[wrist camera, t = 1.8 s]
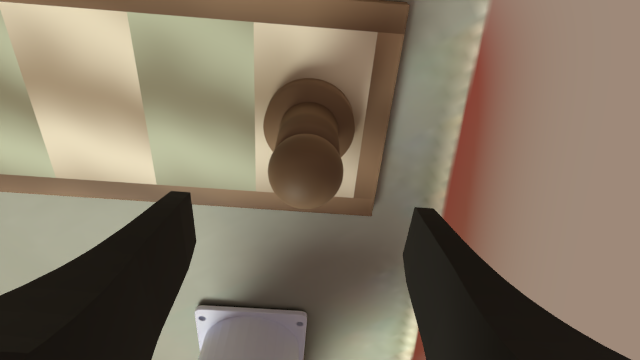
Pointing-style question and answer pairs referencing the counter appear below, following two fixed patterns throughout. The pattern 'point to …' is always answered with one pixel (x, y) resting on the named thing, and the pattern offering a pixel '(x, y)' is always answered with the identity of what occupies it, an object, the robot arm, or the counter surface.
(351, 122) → the pawn
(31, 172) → the game board
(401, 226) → the counter surface
